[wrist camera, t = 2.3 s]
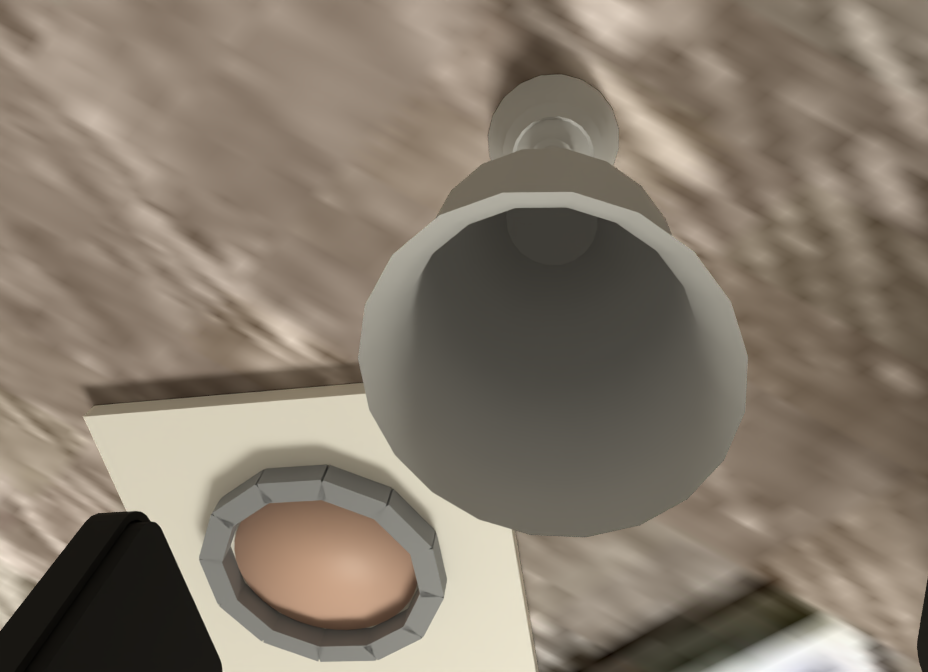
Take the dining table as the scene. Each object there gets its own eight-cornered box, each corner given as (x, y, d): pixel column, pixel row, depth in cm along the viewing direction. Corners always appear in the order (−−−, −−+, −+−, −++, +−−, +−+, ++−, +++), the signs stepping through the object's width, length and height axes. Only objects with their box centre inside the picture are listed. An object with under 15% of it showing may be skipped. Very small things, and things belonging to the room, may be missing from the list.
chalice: (429, 105, 29) (280, 306, 13) (587, 5, 27) (631, 104, 11) (523, 259, 32) (491, 580, 16) (675, 179, 30) (811, 461, 14)
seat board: (488, 372, 35) (484, 398, 33) (538, 671, 44) (537, 705, 42) (94, 405, 38) (69, 430, 36) (215, 676, 47) (201, 708, 45)
